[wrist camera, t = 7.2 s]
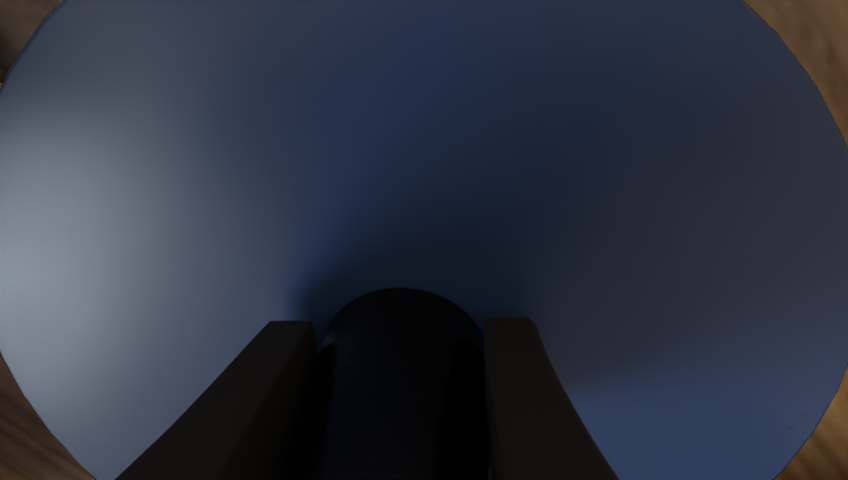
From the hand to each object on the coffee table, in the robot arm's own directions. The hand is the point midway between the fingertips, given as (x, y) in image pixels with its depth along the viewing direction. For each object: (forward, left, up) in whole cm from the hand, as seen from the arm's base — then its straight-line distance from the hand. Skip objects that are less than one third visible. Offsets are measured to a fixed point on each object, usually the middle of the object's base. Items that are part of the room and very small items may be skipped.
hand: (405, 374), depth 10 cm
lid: (0, 0, -1) cm, 1 cm away
